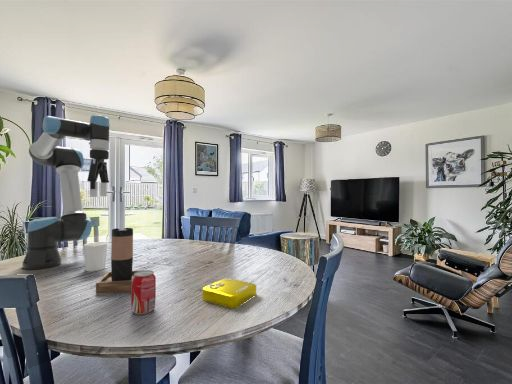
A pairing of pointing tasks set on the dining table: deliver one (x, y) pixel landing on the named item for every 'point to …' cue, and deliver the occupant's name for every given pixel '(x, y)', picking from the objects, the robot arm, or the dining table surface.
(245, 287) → the element tile
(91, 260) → the candle holder
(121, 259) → the travel mug
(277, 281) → the dining table surface
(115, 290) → the tray
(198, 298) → the dining table surface
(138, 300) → the soda can
